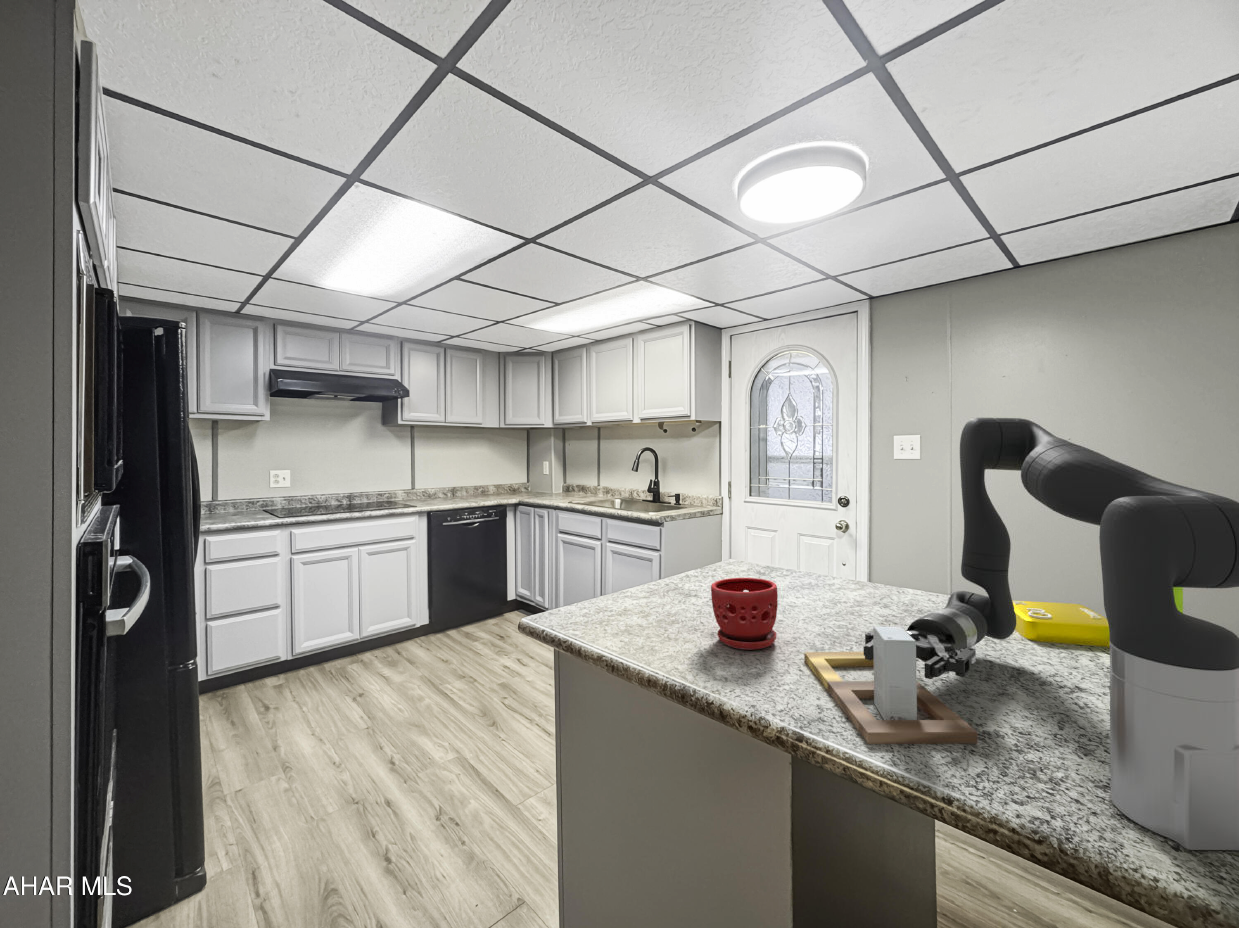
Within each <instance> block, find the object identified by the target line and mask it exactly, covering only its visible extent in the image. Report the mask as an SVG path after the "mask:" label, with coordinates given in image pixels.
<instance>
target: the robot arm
mask: <svg viewBox="0 0 1239 928" xmlns="http://www.w3.org/2000/svg"><path fill="white" fill-rule="evenodd" d="M959 467H960V468H959V469H960V486H961V499H962V508H963V509H962V510H963V511H962V512H963V543H962V555H961V563H960V564H961V565H960V570H961V571H960V573H961V576H962V577H963V579H965V580H966V581H968V582H969V583H972V584H974V585H976V586H978V587H980V588H982V589H983V590H984V591H985V593H986V594H987V595H983V594H979V593H975V592H972V591H971V592H970V591H967V590H957V591H954V592H952V593H951V595H950V596H949V598H948V600H947V602H946V606H945V607H944V608H941V609H937V610H934V611H931V612H930V613H927V614H925V615H923V616H921V617H919V618H917V619H915V620H914V621H912V622H911V623H910V624H909V626H908V627H907V629H906V630H905V631H906V632H907V633H908V634H909V635H910V636H911V637H912V638H913V639H914V640H915V641H916V659H918V660H920V661H922V662H924V678H926V679H929V680H933V679H934V678H939V677H941V676H942V675H948V674H950V672H951V673H954V675H955V676H956V677H959V678H965V677H966V676H967V675H969V674H970V673H971V671H972V670H973V669H975V668H976V664H977V663H976V661H977V659H976V658H977V655H976V651H977V650H976V649H975V648H973V647H974V646H976V645H977V644H979V643H980V642H981V641H982V640H983V639H984V638H985V637H988V638H990V639H994V640H1000V641H1001V640H1005V639H1006V640H1007V639H1008V638H1010V637H1011V636H1012V635H1013V633H1015V631H1016V630H1015V628H1016V614H1015V609H1014V605H1013V602H1012V600H1013V599H1012V594H1011V589H1010V583H1009V568H1010V558H1011V547H1012V546H1011V545H1012V544H1011V537H1010V534H1009V531H1008V529H1007V526H1006V525H1005V523H1004V521H1003V519H1002V518H1001V516H1000V514H999V513H998V511H997V510H996V508H995V506H994V505H993V502H992V500H991V499H990V497H989V493H988V491H987V488H986V481H985V479H986V478H985V472H986V470H997V471H998V470H1000V471H1001V470H1002V471H1019V472H1020V479H1021V483H1022V485H1023V488H1024V489H1025V490H1026V492H1027V493H1028V494H1029V495H1030V496H1032V497H1033V498H1034V499H1035V500H1037V501H1038V502H1040V503H1041V504H1042V505H1044V506H1045V507H1047V508H1048V509H1050V510H1052V511H1054V512H1055V513H1058V514H1060V515H1062V516H1064V517H1066V518H1069V519H1072V520H1075V521H1080V522H1083V523H1086V524H1091V525H1095V526H1099V536H1098V537H1099V538H1098V539H1099V554H1100V564H1101V565H1100V566H1101V577H1102V592H1103V593H1102V595H1103V607H1104V613H1105V616H1106V617H1105V618H1107V621H1108V625H1109V632H1110V647H1109V743H1110V744H1109V748H1110V749H1109V750H1110V751H1109V753H1110V755H1109V761H1110V763H1109V764H1110V767H1109V769H1110V798H1111V802H1112V803H1113V805H1114V806H1115V807H1116V808H1117V809H1118V810H1119V811H1120V812H1121V813H1122V814H1124V815H1125V817H1128V818H1129V819H1130V820H1131V821H1133V822H1135V823H1137V824H1139V825H1140V826H1142V827H1144V828H1145V829H1148V830H1149V831H1151V832H1154V833H1156V834H1158V835H1161V836H1163V837H1165V838H1167V839H1170V840H1171V841H1172V840H1173V841H1174V842H1176V843H1178V844H1179V845H1180V846H1181V847H1183V848H1184V849H1186V850H1189V851H1190V850H1191V851H1239V637H1238V635H1237V634H1236V633H1234V632H1233V631H1231V630H1229V629H1228V628H1226V627H1223V626H1222V625H1219V624H1216V623H1213V622H1210V621H1208V620H1204V619H1201V618H1198V617H1195V616H1191V615H1189V614H1185V613H1184V612H1183V613H1182V612H1180V611H1178V609H1177V607H1176V604H1175V598H1174V592H1173V587H1183V588H1190V589H1193V588H1194V589H1229V588H1230V589H1231V588H1239V502H1238V501H1237V500H1235V499H1232V498H1229V497H1227V496H1223V495H1219V494H1215V493H1212V492H1211V493H1210V492H1208V491H1203V490H1200V489H1196V488H1193V487H1187V486H1184V485H1181V484H1177V483H1173V482H1171V481H1167V480H1164V479H1161V478H1158V477H1156V476H1154V475H1151V474H1148V473H1146V472H1145V471H1142V470H1141V469H1140V470H1139V469H1137V468H1134V467H1132V466H1130V465H1127V464H1125V463H1122V462H1120V461H1117V460H1116V459H1115V460H1114V459H1112V458H1110V457H1109V456H1106V455H1104V454H1102V453H1100V452H1097V451H1095V450H1093V449H1090V448H1087V447H1085V446H1082V445H1079V444H1076V443H1073V442H1071V441H1068V440H1067V439H1063V438H1061V437H1058V436H1056V435H1054V434H1053V433H1051V432H1050V431H1048V430H1047V429H1046V428H1044V427H1042V426H1041V425H1040V424H1038V423H1036V422H1034V421H1032V420H1030V419H1025V418H1021V417H1020V418H1019V417H973V418H971V419H969V420H968V421H967V422H966V423H965V424H964V426H963V429H962V430H961V435H960V440H959ZM881 627H887V626H885V625H884V626H881ZM863 651H864V656H865V659H867V660H873V659H874V648H873V629H872V630H869V631H867V632H865V633H864V645H863Z"/></svg>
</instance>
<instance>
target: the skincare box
mask: <svg viewBox="0 0 1239 928" xmlns="http://www.w3.org/2000/svg"><path fill="white" fill-rule="evenodd" d="M872 630H873V648H874V666H873V681H874V699H873V701H874V702H873V703H874V705H875V707H876V709H877V710H878V712H879V714H880V715H881V717H882V719H883V720H918V706H917V681H918V680H917V658H916V641H915V640H914V639H913V638H912V637H911V636H910V635H909V634H908V633H907V632H906V630H905V629H904V628H903V627H901V626H900V627H898V626H886V627H882V626H880V625H879V626H877V625H874V626H873V628H872Z"/></svg>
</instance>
